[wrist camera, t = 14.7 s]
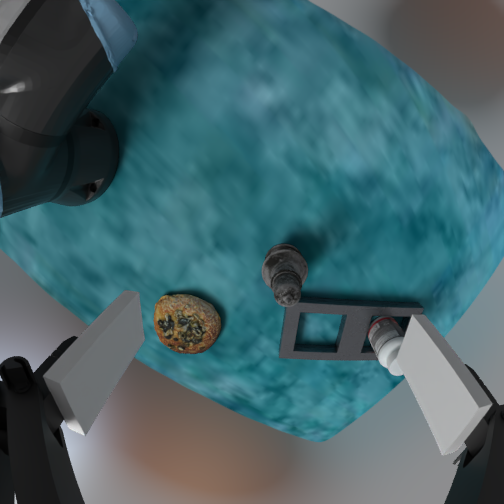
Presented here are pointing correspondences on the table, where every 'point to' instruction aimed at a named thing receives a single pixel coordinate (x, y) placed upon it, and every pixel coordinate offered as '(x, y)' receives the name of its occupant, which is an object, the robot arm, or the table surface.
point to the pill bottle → (386, 342)
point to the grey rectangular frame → (341, 327)
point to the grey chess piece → (285, 273)
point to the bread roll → (186, 323)
